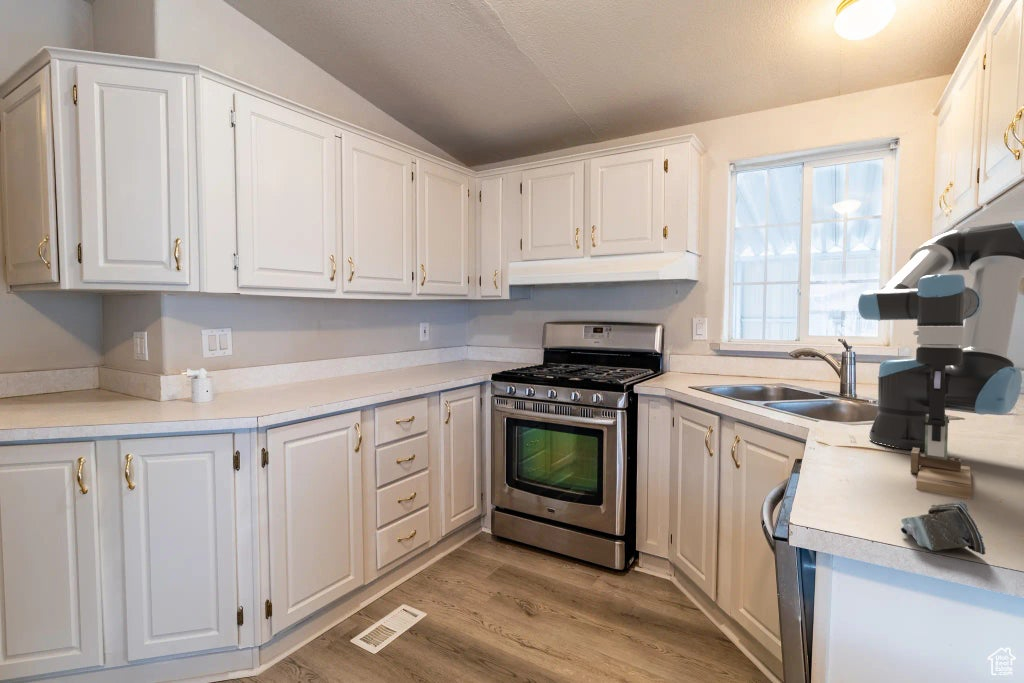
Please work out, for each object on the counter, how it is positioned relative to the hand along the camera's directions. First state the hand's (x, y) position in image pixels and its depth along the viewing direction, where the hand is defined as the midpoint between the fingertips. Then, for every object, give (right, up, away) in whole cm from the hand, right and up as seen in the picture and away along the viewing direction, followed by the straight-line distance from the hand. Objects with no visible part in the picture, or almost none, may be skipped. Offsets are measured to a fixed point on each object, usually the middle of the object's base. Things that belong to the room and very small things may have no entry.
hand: (936, 453), depth 105 cm
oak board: (-2, -5, -4) cm, 7 cm away
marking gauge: (0, -4, 0) cm, 4 cm away
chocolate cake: (-26, -8, -27) cm, 38 cm away
